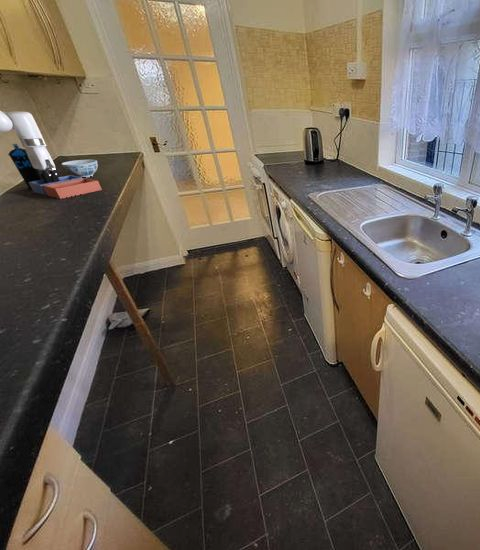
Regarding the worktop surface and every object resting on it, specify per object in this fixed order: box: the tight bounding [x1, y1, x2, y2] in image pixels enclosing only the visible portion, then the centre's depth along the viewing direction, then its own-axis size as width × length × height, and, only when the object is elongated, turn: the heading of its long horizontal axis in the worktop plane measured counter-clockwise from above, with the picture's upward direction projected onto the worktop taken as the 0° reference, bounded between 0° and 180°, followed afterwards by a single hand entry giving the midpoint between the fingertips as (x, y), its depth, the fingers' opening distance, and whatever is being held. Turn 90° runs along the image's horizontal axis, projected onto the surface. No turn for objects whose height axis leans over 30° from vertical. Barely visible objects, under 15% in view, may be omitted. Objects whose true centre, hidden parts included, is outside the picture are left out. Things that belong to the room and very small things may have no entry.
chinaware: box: [61, 159, 99, 178], centre depth 165 cm, size 15×15×8 cm
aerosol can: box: [7, 143, 43, 190], centre depth 142 cm, size 8×8×20 cm
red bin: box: [43, 177, 103, 200], centre depth 139 cm, size 17×11×5 cm, turn 155°
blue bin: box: [29, 174, 83, 196], centre depth 144 cm, size 17×11×5 cm, turn 155°
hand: (53, 183), depth 142 cm, fingers open, 5 cm apart
